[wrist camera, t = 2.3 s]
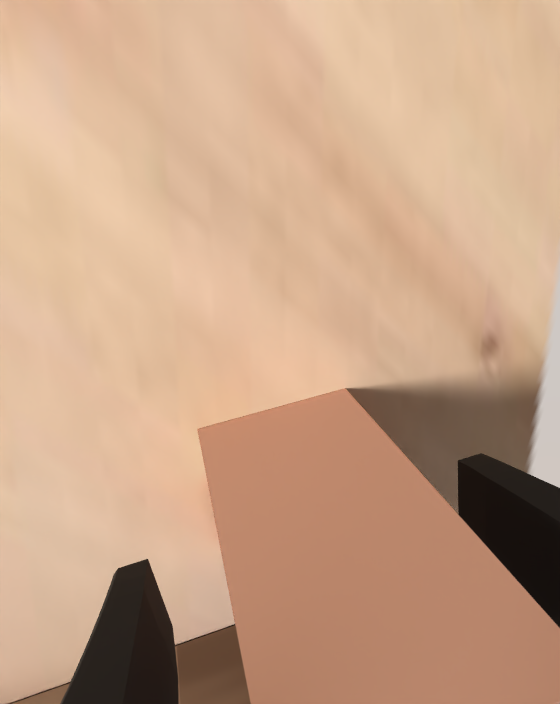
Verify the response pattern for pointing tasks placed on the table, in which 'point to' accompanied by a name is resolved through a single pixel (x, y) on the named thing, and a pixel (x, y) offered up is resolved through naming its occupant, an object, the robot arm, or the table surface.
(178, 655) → the walnut stand board
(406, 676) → the terracotta peg
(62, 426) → the table surface
